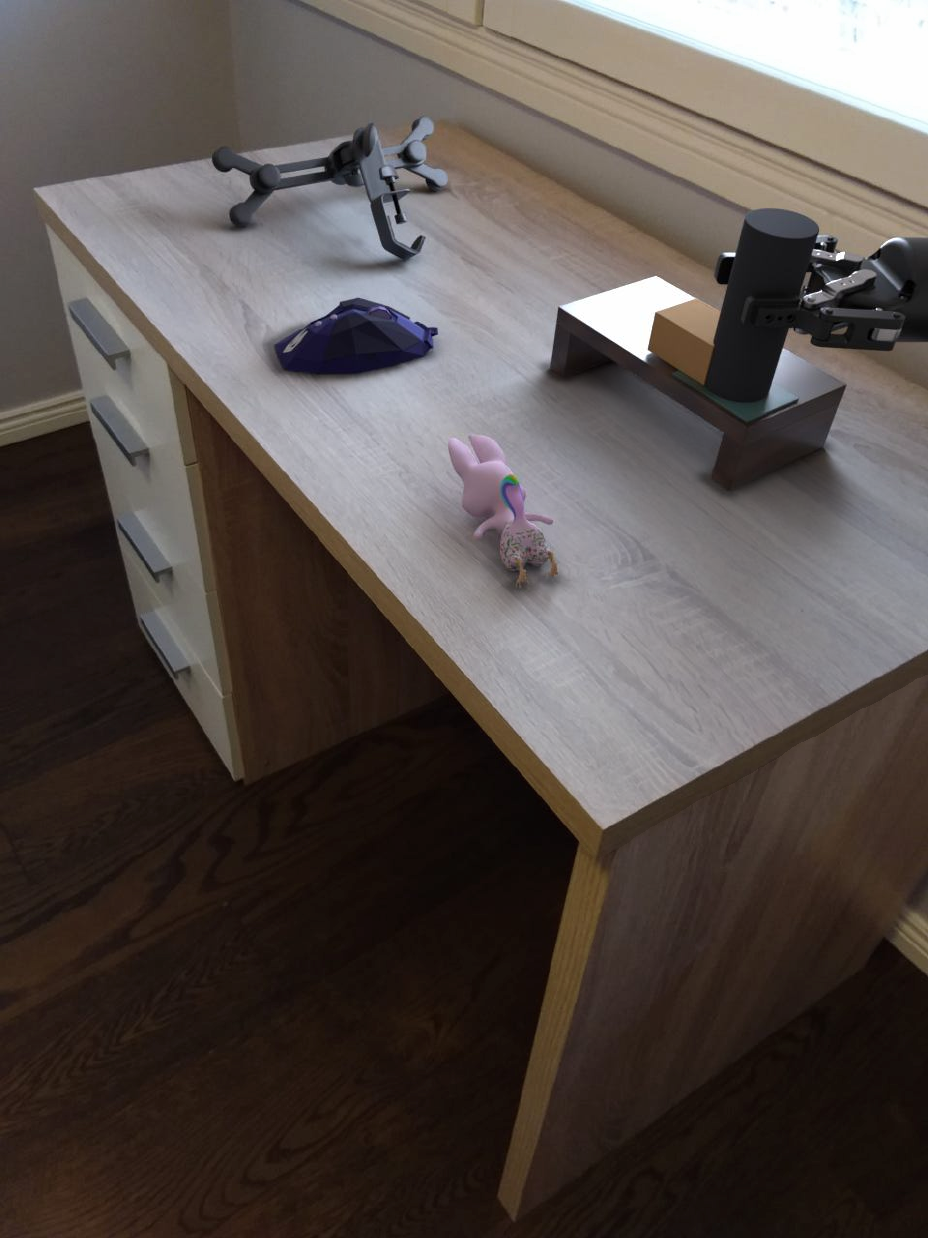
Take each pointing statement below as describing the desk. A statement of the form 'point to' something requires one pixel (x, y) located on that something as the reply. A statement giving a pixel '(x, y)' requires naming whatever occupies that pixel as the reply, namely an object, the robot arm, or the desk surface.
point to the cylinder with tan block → (740, 310)
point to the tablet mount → (346, 177)
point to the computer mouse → (355, 340)
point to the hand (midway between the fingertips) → (731, 289)
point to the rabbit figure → (500, 504)
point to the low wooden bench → (751, 429)
